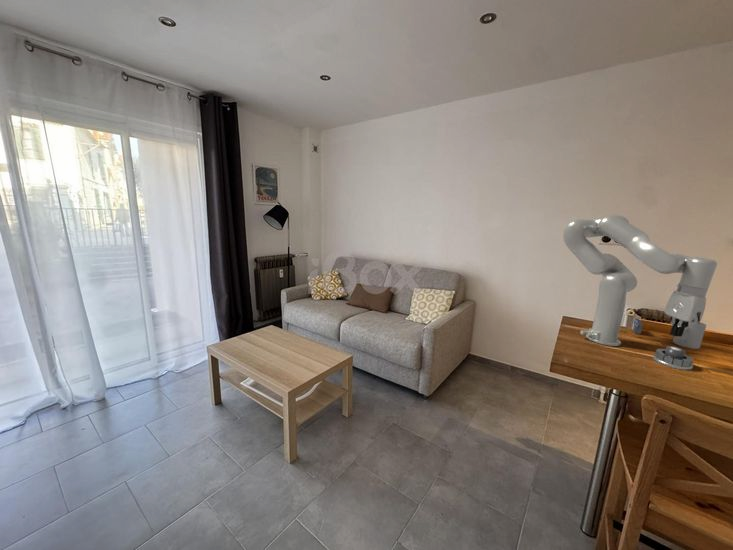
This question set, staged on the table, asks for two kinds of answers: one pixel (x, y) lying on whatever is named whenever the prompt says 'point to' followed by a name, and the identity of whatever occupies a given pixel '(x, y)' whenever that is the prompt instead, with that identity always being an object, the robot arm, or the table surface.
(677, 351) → the cap
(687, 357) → the grey notched ring
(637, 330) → the mini dv tape
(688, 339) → the mug
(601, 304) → the robot arm
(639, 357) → the table surface
